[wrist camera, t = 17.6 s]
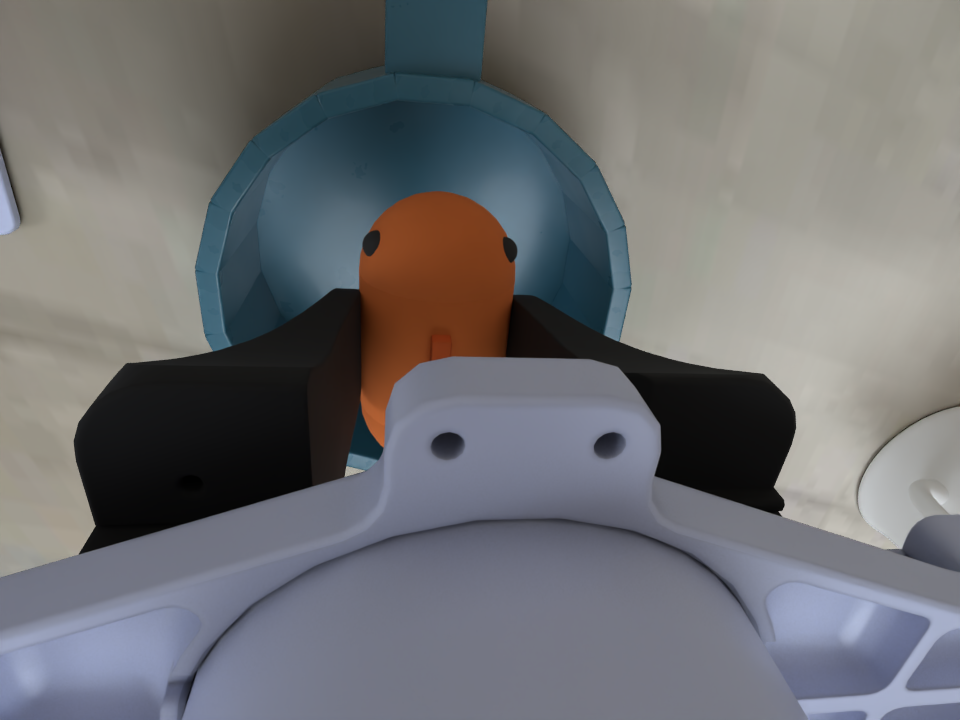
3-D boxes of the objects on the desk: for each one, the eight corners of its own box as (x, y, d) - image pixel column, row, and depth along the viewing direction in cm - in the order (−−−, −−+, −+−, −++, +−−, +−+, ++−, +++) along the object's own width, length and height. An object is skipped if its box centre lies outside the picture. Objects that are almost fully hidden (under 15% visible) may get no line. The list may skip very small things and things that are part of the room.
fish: (480, 452, 18) (498, 546, 14) (364, 453, 17) (357, 550, 14) (509, 180, 14) (543, 226, 11) (362, 170, 13) (351, 215, 10)
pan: (265, 442, 25) (234, 539, 20) (212, -63, 17) (138, -101, 12) (545, 442, 27) (576, 531, 22) (625, -14, 18) (704, -29, 14)
